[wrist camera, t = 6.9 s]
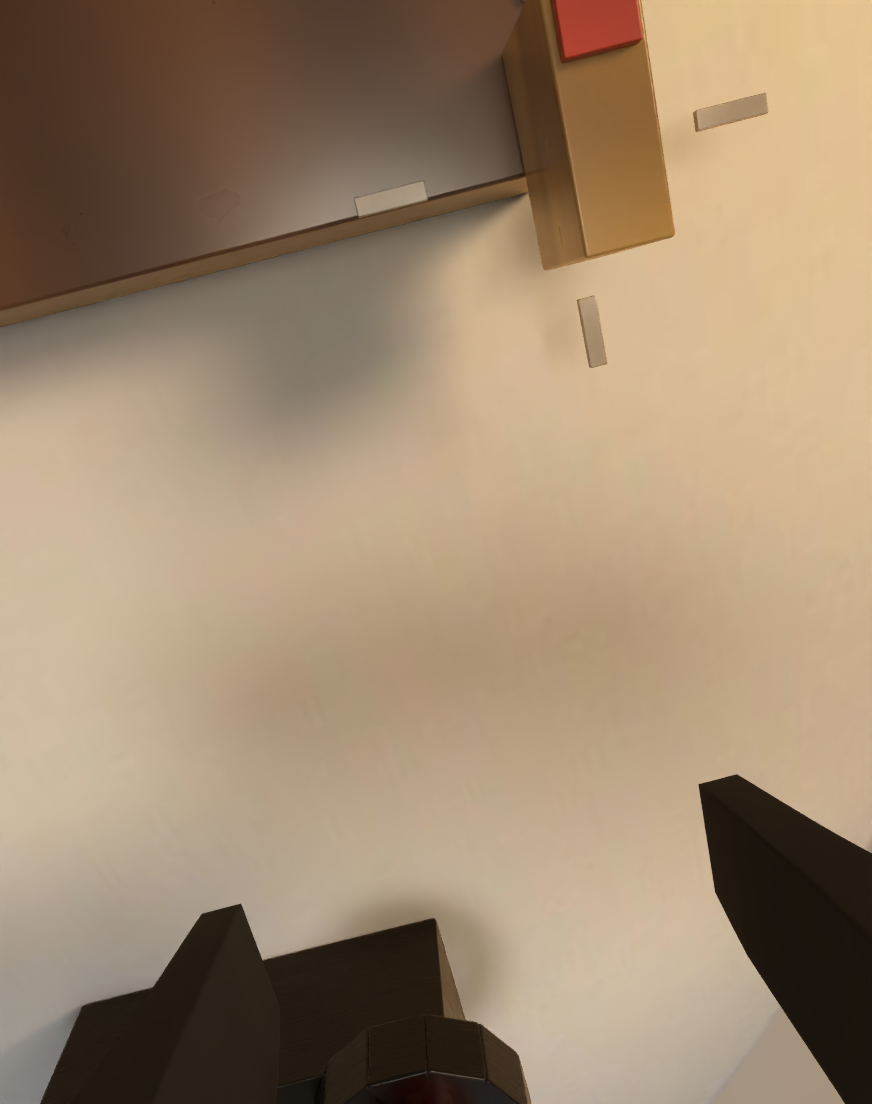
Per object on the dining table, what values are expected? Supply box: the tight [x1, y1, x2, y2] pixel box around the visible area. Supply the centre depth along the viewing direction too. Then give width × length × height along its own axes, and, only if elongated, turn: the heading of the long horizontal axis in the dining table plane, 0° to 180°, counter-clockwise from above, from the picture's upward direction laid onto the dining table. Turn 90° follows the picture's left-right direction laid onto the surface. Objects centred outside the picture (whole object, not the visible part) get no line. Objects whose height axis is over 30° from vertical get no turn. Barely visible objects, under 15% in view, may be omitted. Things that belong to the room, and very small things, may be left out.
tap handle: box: [502, 0, 675, 271], centre depth 14 cm, size 4×2×4 cm, turn 14°
